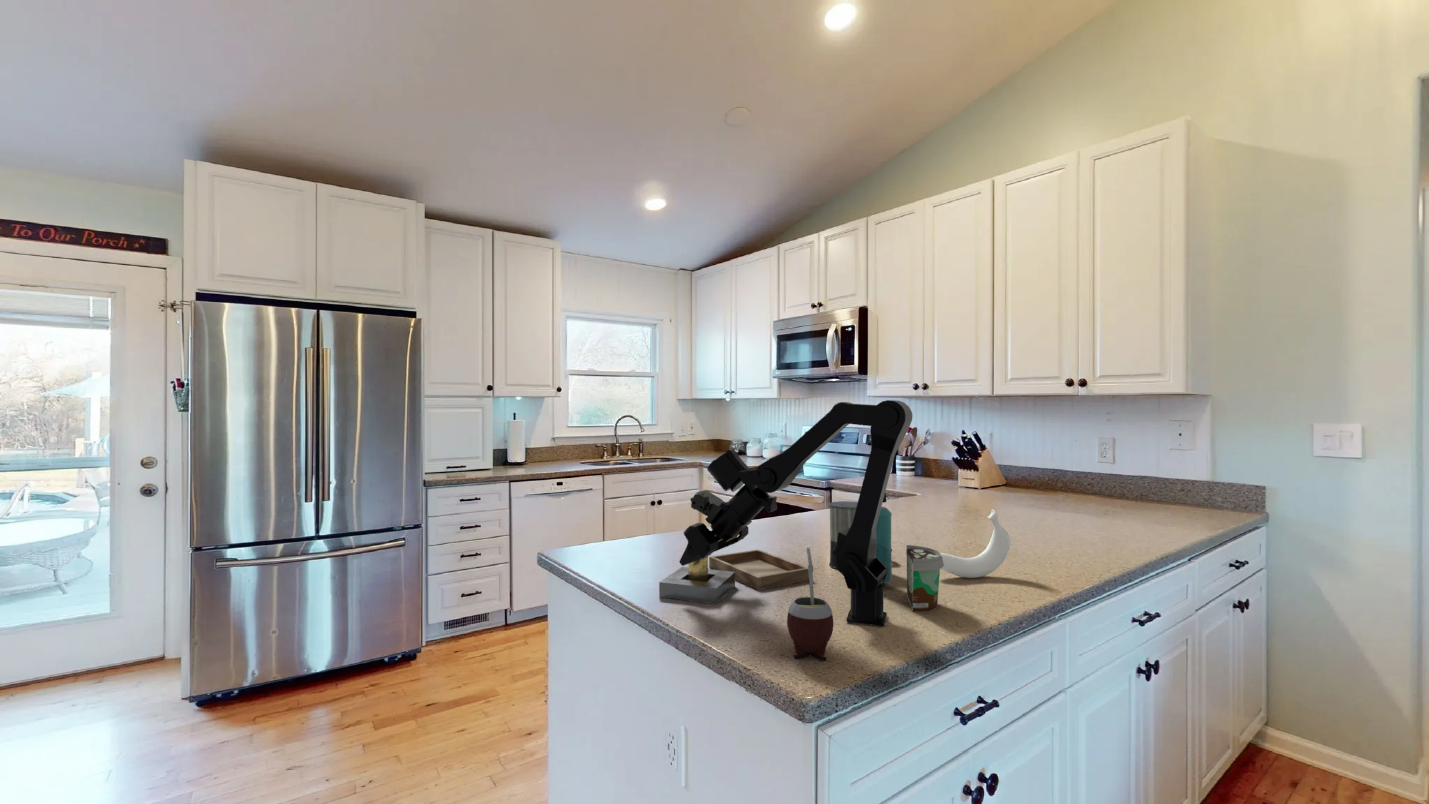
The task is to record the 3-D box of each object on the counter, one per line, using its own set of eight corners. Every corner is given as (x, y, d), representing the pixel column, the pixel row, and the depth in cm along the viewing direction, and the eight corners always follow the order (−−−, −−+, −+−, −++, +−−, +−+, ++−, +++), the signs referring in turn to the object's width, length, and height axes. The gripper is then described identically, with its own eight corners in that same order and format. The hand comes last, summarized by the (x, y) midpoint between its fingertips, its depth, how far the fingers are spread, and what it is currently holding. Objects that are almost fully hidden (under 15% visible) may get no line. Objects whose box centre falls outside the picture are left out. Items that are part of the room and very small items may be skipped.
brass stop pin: (704, 595, 122) (704, 550, 122) (685, 593, 123) (685, 549, 124) (710, 589, 126) (710, 546, 126) (692, 587, 127) (692, 544, 127)
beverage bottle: (889, 582, 132) (889, 489, 132) (895, 591, 125) (895, 493, 125) (858, 581, 132) (858, 488, 132) (862, 590, 126) (862, 493, 126)
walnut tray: (810, 579, 133) (810, 568, 133) (757, 589, 126) (757, 577, 126) (758, 559, 150) (758, 549, 150) (709, 567, 143) (709, 556, 143)
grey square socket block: (716, 603, 117) (716, 588, 117) (659, 597, 121) (659, 582, 121) (735, 586, 128) (735, 571, 128) (682, 580, 132) (682, 566, 132)
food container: (949, 616, 110) (949, 561, 110) (913, 614, 111) (913, 559, 111) (938, 595, 122) (938, 545, 122) (906, 593, 123) (906, 544, 123)
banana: (924, 576, 136) (924, 510, 136) (1001, 571, 140) (1001, 507, 140) (936, 582, 131) (936, 514, 131) (1015, 577, 135) (1015, 511, 135)
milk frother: (825, 569, 142) (825, 505, 142) (835, 553, 156) (835, 495, 156) (888, 575, 137) (889, 509, 137) (893, 558, 152) (893, 498, 152)
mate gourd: (810, 668, 89) (810, 564, 89) (773, 650, 95) (773, 554, 95) (845, 655, 93) (845, 557, 93) (808, 639, 99) (808, 547, 100)
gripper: (735, 473, 131) (690, 520, 136) (692, 483, 115) (643, 536, 120) (769, 513, 128) (722, 560, 133) (730, 529, 111) (678, 582, 116)
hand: (692, 558), depth 125 cm, fingers open, 9 cm apart
